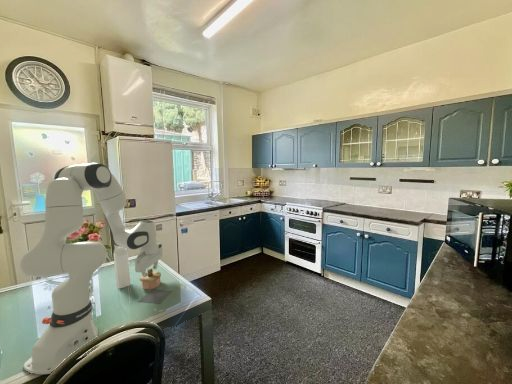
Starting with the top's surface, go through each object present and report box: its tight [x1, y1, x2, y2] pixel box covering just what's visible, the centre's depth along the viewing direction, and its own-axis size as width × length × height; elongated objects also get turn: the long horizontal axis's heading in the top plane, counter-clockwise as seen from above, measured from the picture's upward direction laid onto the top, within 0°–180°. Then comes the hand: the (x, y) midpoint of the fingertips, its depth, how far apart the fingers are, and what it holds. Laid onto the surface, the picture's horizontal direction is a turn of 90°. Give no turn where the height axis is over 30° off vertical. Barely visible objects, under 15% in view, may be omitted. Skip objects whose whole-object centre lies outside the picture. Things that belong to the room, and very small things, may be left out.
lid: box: [139, 268, 162, 283], centre depth 132 cm, size 11×11×4 cm
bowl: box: [140, 277, 162, 290], centre depth 133 cm, size 9×9×5 cm
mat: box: [137, 288, 173, 305], centre depth 122 cm, size 12×12×1 cm
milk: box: [113, 247, 131, 290], centre depth 132 cm, size 6×6×22 cm
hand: (150, 272), depth 132 cm, fingers open, 8 cm apart
